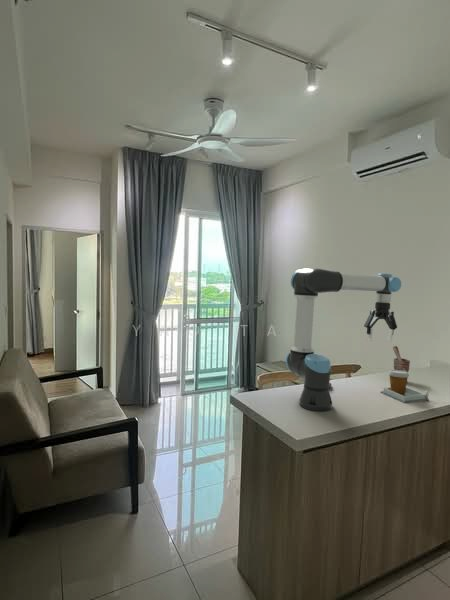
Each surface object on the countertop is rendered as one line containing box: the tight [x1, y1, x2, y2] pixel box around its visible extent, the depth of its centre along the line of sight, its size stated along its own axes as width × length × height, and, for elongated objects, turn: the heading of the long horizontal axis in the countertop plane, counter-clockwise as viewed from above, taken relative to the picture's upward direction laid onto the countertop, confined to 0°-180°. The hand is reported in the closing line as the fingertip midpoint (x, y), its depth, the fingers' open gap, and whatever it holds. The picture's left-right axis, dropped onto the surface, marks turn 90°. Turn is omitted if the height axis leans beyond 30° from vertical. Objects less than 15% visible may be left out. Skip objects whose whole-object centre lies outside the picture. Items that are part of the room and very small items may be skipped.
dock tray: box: [380, 386, 430, 404], centre depth 190 cm, size 16×16×5 cm
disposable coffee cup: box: [388, 369, 409, 396], centre depth 191 cm, size 10×10×12 cm
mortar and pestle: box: [392, 345, 411, 373], centre depth 219 cm, size 12×9×20 cm
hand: (379, 340), depth 201 cm, fingers open, 13 cm apart
